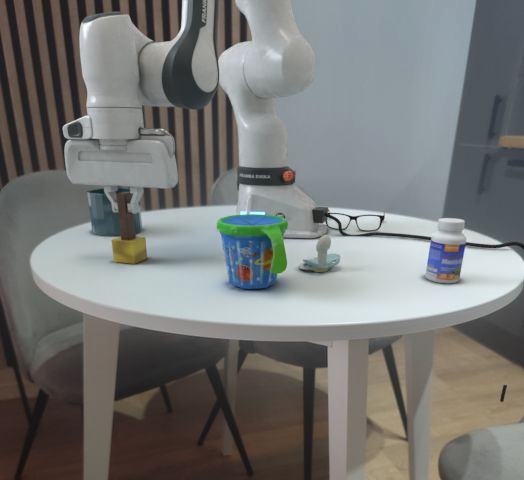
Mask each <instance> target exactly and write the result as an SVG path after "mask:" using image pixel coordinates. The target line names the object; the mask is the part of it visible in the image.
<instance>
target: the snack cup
mask: <svg viewBox="0 0 524 480" xmlns="http://www.w3.org/2000/svg"><path fill="white" fill-rule="evenodd" d="M287 227H288V222H287V220H286V219H285V218H283V217H279V216H274V215H262V214H243V215H236V214H233V215H228V216H222V217H220V218H219V219H218V220H217V221H216V229H217V231H218V232H219V234H220V237H221V242H222V245H221V247H222V251H223V254H224V259H225V265H226V271H227V276H228V282H229V283H230V284H231V285H232V286H234V287H238V288H241V289H242V290H243V289H247V290H254V289H255V290H259V289H266V288H268V287H271V286H273V285H274V284H275V283H276V282H277V279H278V275H279V274H282V273H284V272H285V271H286V269H287V267H288V259H287V253H286V252H287V251H286V247H285V240H284V237H283V235H284V233H285V231H286V229H287Z"/></svg>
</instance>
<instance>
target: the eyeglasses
mask: <svg viewBox="0 0 524 480" xmlns="http://www.w3.org/2000/svg"><path fill="white" fill-rule="evenodd" d="M328 214H329V215H339V216H340V215H341V216H346V217H348V218H349V221H348V223H347V226H345V228H342V231H345V230H347V229H348V227H349V226H350V224H351V221H354V222H355V224H356V227H357V229H358V230H359V231H360V232H364V233H371V232H378V230H380V229H381V227H382V224H383V222H384V221H385V217H386V215H385V214H386V211H383V215H381V214H359V215H350V214H345V213H340V212H331V211H330V209H329V208H328ZM361 217H378V218H379V225H378V227H377V228H375V229H370V230H365V229H361V228H360V227H359V225H358V218H361ZM328 219H329V220H331V219H330V218H328ZM324 223H325V225H326V226H327V229H332V230H335V231H339V228H335V227H331V226H329V223H328V220H327V221H325V222H324Z"/></svg>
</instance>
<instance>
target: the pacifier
mask: <svg viewBox="0 0 524 480" xmlns="http://www.w3.org/2000/svg"><path fill="white" fill-rule="evenodd" d="M330 237H331V236H329V235H328V234H324V235H322V236H320V237H319V238H318V240H317V242H316V244H315V245H316V246H315V250H316V252H317V257H313V258H309V259H302V262H301V263H299V265H298V268H299V269H300V270H304V271H312V272H316V273H323V272H324V273H325V272H327V271H329V270H330V268H333V267H335V266H337V265H338V264H339V263H340V262H341V256H340V254H337V253H328V250H329V249H330V248H331V245H332V239H331V238H330Z"/></svg>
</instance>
